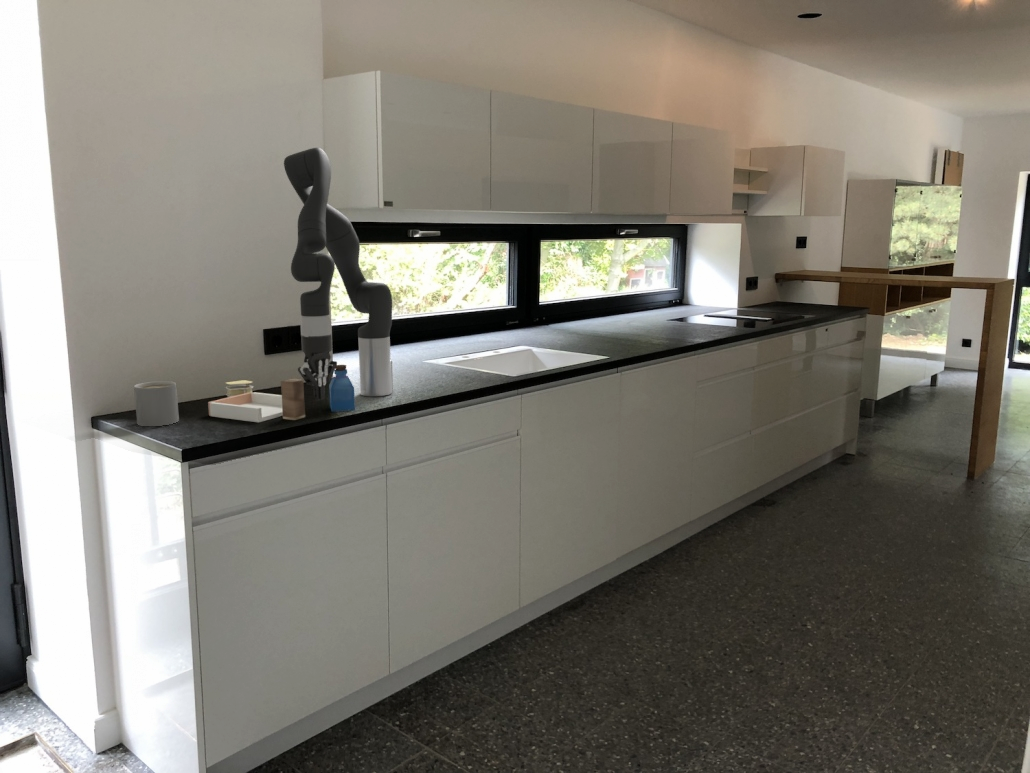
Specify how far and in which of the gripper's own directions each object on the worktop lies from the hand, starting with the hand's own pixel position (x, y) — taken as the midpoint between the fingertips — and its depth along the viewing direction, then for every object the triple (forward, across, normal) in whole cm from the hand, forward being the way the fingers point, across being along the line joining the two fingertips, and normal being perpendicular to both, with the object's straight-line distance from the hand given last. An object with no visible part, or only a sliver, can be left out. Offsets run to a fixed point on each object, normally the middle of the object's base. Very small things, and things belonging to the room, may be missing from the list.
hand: (319, 400), depth 218 cm
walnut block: (+6, 0, -9) cm, 10 cm away
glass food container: (+6, -12, -40) cm, 42 cm away
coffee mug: (+6, +18, -37) cm, 41 cm away
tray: (+6, 0, -22) cm, 23 cm away
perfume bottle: (+6, -15, -5) cm, 17 cm away
